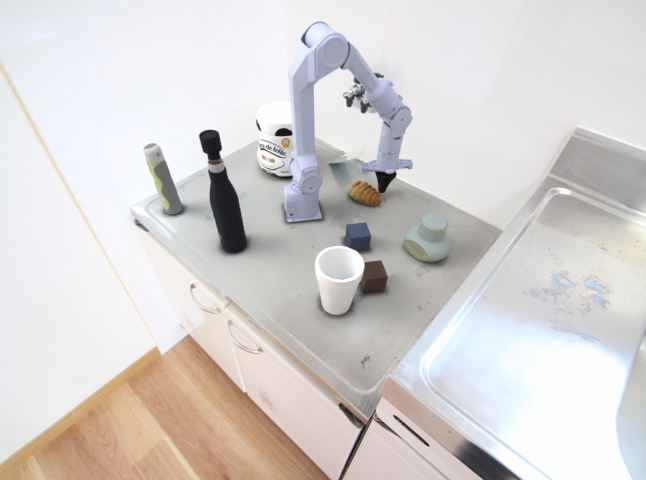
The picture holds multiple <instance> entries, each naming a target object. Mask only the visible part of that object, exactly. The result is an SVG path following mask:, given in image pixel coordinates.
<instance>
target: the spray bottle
mask: <svg viewBox="0 0 646 480" xmlns="http://www.w3.org/2000/svg"><path fill="white" fill-rule="evenodd" d="M142 149H143V150H142V151H143V153H144V157H145V161H146V164H147V167H148V169H149V173H150V175H151V176H152V178H153V181H154V185H155V188H156V191H157V193H158V196H159V199H160V200H161V203H162V207H163V209H164V211H165V213H166V214H168V215H176V214H179V213H180V212H181V211H182V210H183V204H182V201H181V199H180V196H179V193H178V189H177V188H176V185H175V182H174V179H173V177H172V175H171V170H170V168H169V166H168V163H167V161H166V158H165V156H164V153H163V151H162V148H161V146H160V145H159V144H158V143H155V142H150V143H147V145H145V146H144V147H143V148H142Z"/></svg>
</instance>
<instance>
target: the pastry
mask: <svg viewBox="0 0 646 480" xmlns="http://www.w3.org/2000/svg"><path fill="white" fill-rule="evenodd" d="M348 194H349V196H350V198H351V199H353V200H354V201H356V202H358V203H361V204H363V205H366V206H373V207H374V206H376V205H378V204H380V202H381V200H382V196H381V195H380V193H379V191H377V189H376V187H375V188H374V187H373V186H372V184H369V183H368V182H366V181H364V182H363V181H362V180H356V181H355V182H353V184H352V185H351V186H350V188H349V190H348Z"/></svg>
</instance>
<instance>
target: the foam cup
mask: <svg viewBox="0 0 646 480" xmlns="http://www.w3.org/2000/svg"><path fill="white" fill-rule="evenodd" d="M364 262H365V261H364V258H363V257H362V255H361V254H360V253H359V251H358V252H357V251H355V250H353V249H350V248H348V246H342V245H334V246H329V247H325V248H324V249H323V250H322V251H319V252H318V254H317V256H316V258H315V261H314V271H315V279H316V280H317V285H318V289H319V290H318V291H319V296H320V301H321V306H322V308H323V309H324V311H325V312H327V313H328V314H331V315H333V316H334V315H335V316H339V315H342V314H345V313H347V312H348V311H349V309H350V308H351V305H352V302H353V300H354V298H355V294H356V292H357V289H358V286H359V285H360V283H359V282H360V281H361V279H362V276H363V272H364V267H365V265H364Z"/></svg>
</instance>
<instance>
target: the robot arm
mask: <svg viewBox="0 0 646 480" xmlns="http://www.w3.org/2000/svg"><path fill="white" fill-rule="evenodd" d="M338 69H341V70H342V71H346V70H348V71H349V72H350V73H351V74H352V76H353V77H354V78H355V79H356V80H357V82H358V83H360V84H361V86H362V87H363V88H364V89H365V91H364V98H365V100H366V101H367V103H369V104H370V106H371V107H372V108H373V109H374V111H375V112H376V113H377V114H378V117H379V118H380V119H381V120H383V121H382V122H381V128H380V129H381V130H380V135H379V142H378V148H377V154H376V159H374V160H371V161H367V162H363V163H359V166H358V171H359V173H360V174H361V175H365V174H366V173H370V172H374V173H375V176H376V181H377V190H378V191H377V192H378V193H379V195H380V194H385V193H386V191H387V189H388V187H389V185H390V184H391V183H392V182H393V180H394V179H396V178H397V176H398V173H397V171H398V170H403V169H407V170H412V169H413V166H414V161H412V159H408V158H407V159H406V158H400V154H401V150H402V149H401V148H402V144H403V140H404V135H405V134H406V130H407V129H408V127H409V126H410V125H411V123H412V121H413V119H414V118H413V115H412V110H411V108H410V107H409V106H407V104H406V103H404V102H403V100H404V97H403V96H402V95H401V94H398V93H397V92H396V91H395V89H394V88H393V87H394V86H395V84H394V83H393V81H392V80H390V78H385V77H377V76H376V74H375V73H374V71H373V70H372V68H371V67H370V66H369V64H368V63H367V61H366V59H364V57H363V55H362V54H361V52H360V51H359V50H358V48H357V47H356V46H355V45H353V43H351V42H350V41H349V40H347V38H346V37H345V36H344V34H342V33H340V32H337V31H336V30H335V29H333V28H332V27H331V26H330V25H329V24H327V22H325V21H323V20H316V21H313V22H312V23H310V24H309V25H308V26H307V27H306V28H305V29H304V30H303V32H301V34H300V35H299V37H298V46H297V48H296V51H295V54H294V56H293V58H292V61H291V64H290V67H289V70H288V74H287V75H288V89H289V90H288V92H289V101H290V106H291V120H292V134H293V148H294V150H293V151H292V152H291V160H290V162H289V166H288V167H289V171H290V173H291V174H292V175H293V176H292V178H291V183H289V184H286V185H283V199H284V204H283V208H284V209H283V210H284V212H285V215H286V221H287V223H298V222H306V221H307V222H308V221H316V220H321V219H322V218H323V217H322V213H321V210H320V206H319V202H320V201H319V200H320V199H319V195H320V193H319V192H320V188H321V186H322V185H323V176H322V175H321V173H320V171H319V170H320V169H319V162H318V160H317V156H316V134H315V133H316V132H315V131H316V130H315V85H316V84H317V83H318V82H319V81H320V80H322V79H323V78H324V77H326V76H328V75H329V74H332V73H333V72H335V71H337V70H338Z"/></svg>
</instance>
